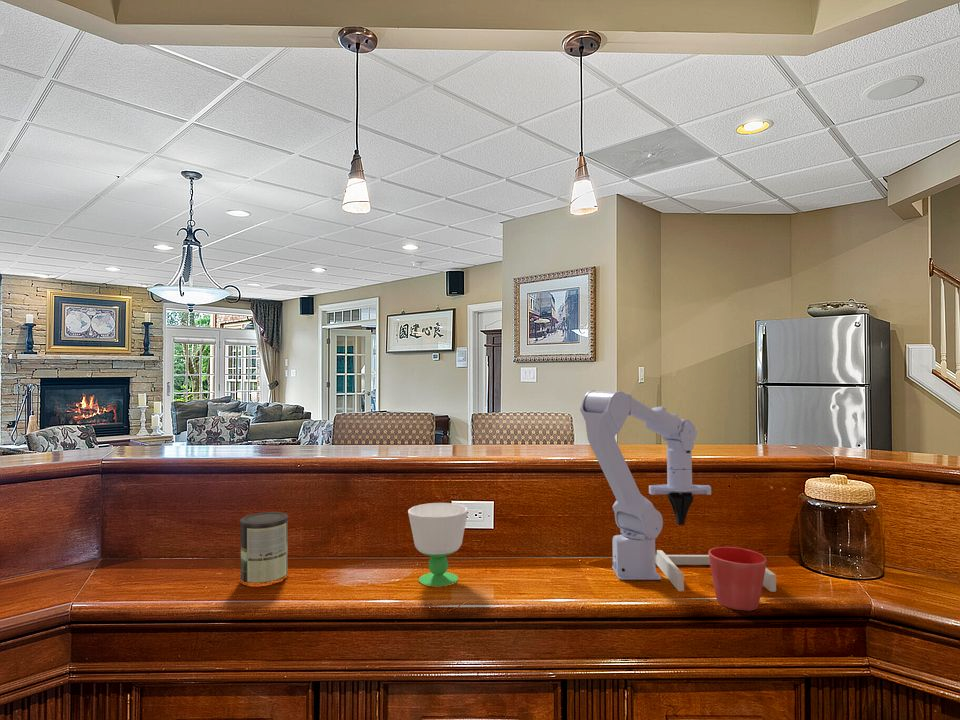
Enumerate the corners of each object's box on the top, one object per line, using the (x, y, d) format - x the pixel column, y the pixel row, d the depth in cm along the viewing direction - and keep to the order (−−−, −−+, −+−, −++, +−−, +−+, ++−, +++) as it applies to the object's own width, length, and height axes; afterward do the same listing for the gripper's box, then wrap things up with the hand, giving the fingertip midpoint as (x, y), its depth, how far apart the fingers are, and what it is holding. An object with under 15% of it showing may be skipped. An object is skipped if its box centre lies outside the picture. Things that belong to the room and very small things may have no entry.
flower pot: (763, 596, 117) (762, 548, 118) (770, 617, 107) (770, 566, 107) (708, 589, 121) (707, 543, 121) (710, 610, 111) (709, 560, 111)
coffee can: (229, 583, 127) (229, 520, 127) (265, 568, 136) (265, 510, 137) (263, 590, 123) (263, 525, 123) (297, 575, 132) (297, 514, 132)
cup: (403, 573, 133) (402, 505, 133) (459, 566, 137) (458, 500, 137) (414, 595, 120) (414, 519, 120) (476, 586, 124) (475, 514, 124)
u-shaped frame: (678, 591, 120) (678, 574, 120) (655, 563, 138) (655, 548, 138) (776, 591, 119) (775, 574, 120) (740, 563, 137) (740, 548, 137)
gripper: (703, 465, 142) (704, 519, 142) (645, 465, 143) (646, 519, 142) (714, 470, 135) (715, 527, 135) (652, 470, 136) (653, 527, 135)
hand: (680, 523), depth 138 cm, fingers closed
